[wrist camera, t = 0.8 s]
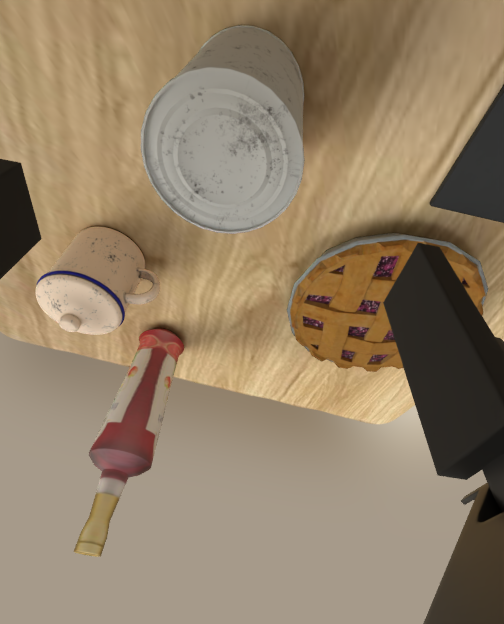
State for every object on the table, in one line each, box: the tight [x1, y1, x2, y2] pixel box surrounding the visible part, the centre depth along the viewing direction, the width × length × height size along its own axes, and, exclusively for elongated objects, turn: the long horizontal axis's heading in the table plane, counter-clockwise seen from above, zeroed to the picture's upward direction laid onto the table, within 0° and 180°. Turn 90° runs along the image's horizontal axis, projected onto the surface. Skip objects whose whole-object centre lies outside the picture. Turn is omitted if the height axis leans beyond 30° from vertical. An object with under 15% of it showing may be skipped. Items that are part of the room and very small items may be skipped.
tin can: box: [141, 25, 304, 234], centre depth 24 cm, size 10×10×12 cm
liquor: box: [74, 328, 184, 556], centre depth 44 cm, size 7×7×28 cm
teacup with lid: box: [36, 227, 160, 335], centre depth 39 cm, size 12×9×12 cm
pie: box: [287, 233, 488, 372], centre depth 41 cm, size 22×22×5 cm
